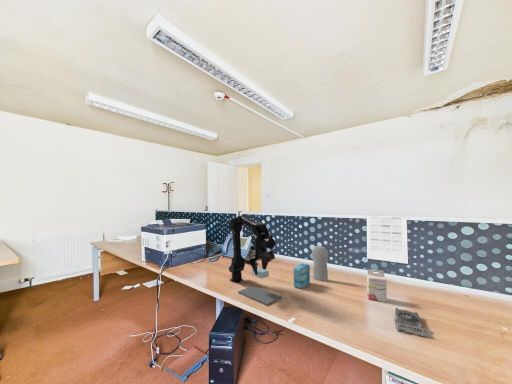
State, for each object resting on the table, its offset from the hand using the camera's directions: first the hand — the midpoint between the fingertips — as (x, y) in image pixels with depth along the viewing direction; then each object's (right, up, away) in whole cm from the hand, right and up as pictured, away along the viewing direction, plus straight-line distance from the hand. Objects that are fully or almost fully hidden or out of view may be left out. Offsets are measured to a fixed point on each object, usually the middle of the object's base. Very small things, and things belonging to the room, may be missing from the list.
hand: (260, 273), depth 124 cm
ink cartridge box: (+62, -11, -8) cm, 63 cm away
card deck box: (0, -1, 0) cm, 1 cm away
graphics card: (+64, -11, -32) cm, 72 cm away
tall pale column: (+40, -12, +20) cm, 46 cm away
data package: (+26, -12, +11) cm, 30 cm away
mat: (0, -11, -3) cm, 11 cm away
